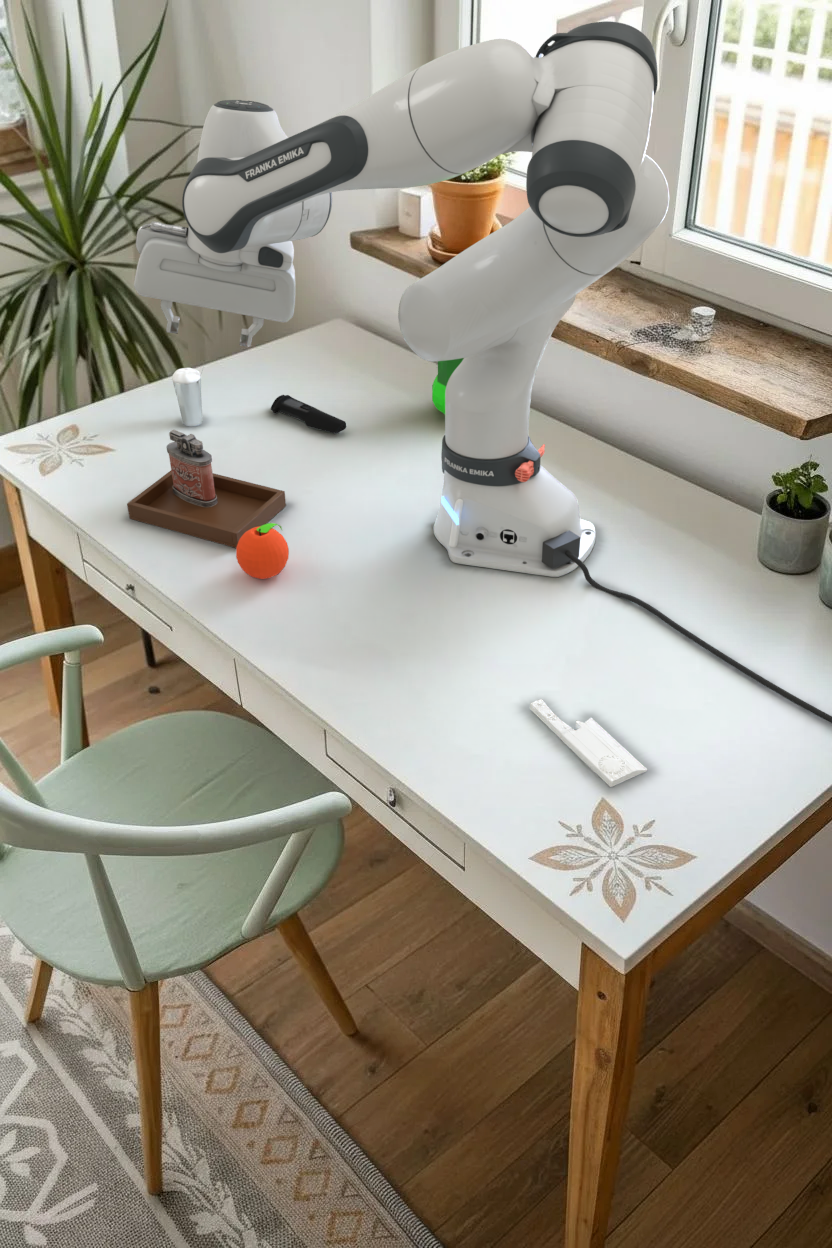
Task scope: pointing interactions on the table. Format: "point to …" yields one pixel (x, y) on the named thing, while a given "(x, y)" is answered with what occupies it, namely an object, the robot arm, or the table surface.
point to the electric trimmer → (307, 414)
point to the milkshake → (189, 395)
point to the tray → (209, 509)
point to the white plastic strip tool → (592, 746)
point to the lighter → (191, 470)
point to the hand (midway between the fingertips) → (208, 338)
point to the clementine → (262, 551)
